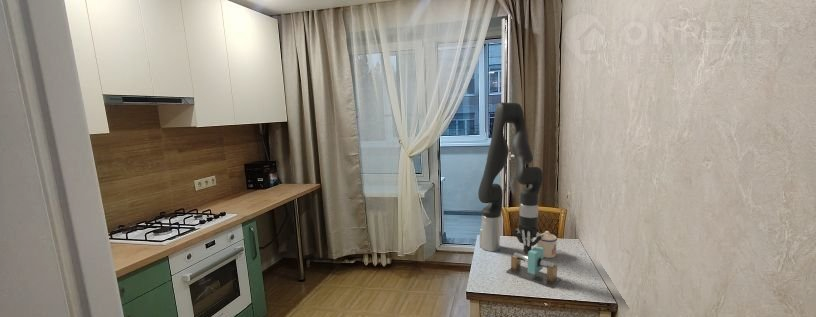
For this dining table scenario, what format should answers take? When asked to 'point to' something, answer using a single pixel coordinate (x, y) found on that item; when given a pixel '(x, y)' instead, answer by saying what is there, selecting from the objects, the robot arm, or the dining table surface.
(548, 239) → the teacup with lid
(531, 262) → the collar
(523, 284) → the dining table surface
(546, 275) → the pipe rig
